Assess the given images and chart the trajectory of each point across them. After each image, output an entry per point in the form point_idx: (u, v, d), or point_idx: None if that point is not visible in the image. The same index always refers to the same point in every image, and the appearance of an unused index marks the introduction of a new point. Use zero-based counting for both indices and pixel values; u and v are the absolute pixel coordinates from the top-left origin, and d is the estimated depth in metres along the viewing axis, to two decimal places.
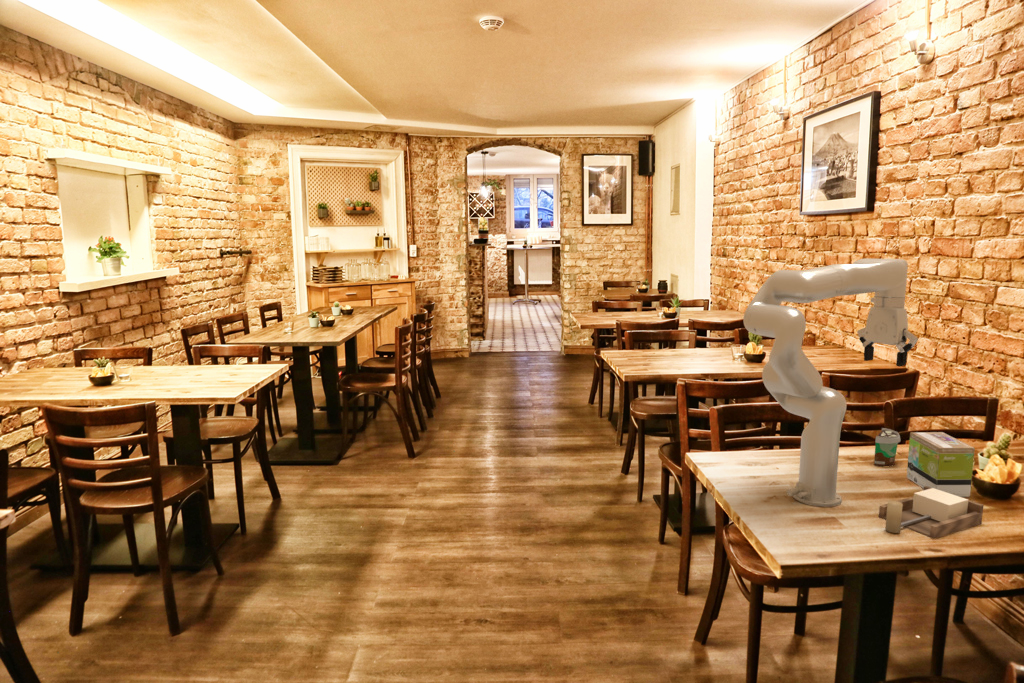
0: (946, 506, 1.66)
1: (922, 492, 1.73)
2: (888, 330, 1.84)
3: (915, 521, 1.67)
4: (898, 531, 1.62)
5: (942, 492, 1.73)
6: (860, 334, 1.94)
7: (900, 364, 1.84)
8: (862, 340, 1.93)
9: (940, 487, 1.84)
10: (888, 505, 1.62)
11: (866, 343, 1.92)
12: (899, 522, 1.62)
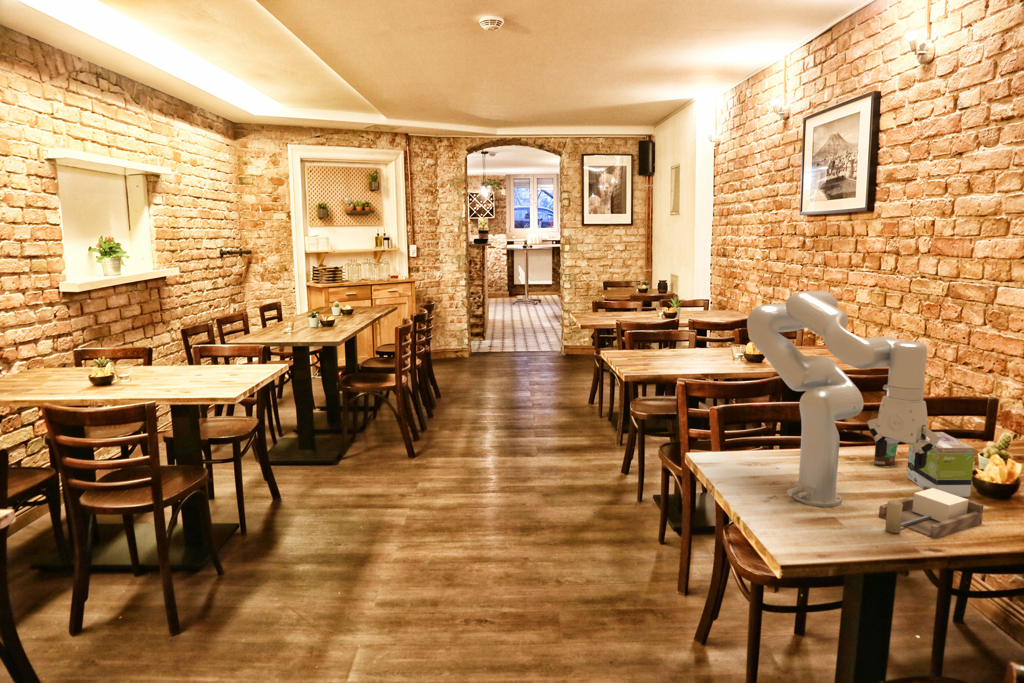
0: (946, 506, 1.66)
1: (922, 492, 1.73)
2: (904, 426, 1.56)
3: (915, 521, 1.67)
4: (898, 531, 1.62)
5: (942, 492, 1.73)
6: (871, 426, 1.66)
7: (918, 466, 1.56)
8: (873, 433, 1.65)
9: (940, 487, 1.84)
10: (888, 505, 1.62)
11: (878, 437, 1.64)
12: (899, 522, 1.62)
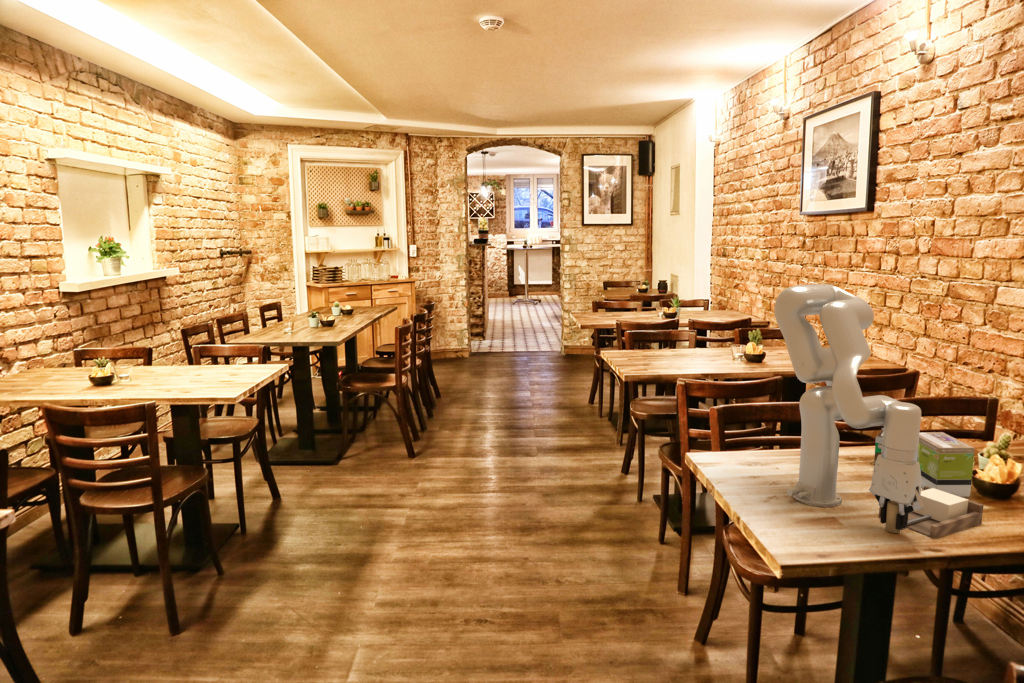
0: (946, 506, 1.66)
1: (922, 492, 1.73)
2: (898, 487, 1.58)
3: (915, 521, 1.67)
4: (898, 531, 1.62)
5: (942, 492, 1.73)
6: (874, 492, 1.67)
7: (900, 527, 1.61)
8: (878, 498, 1.65)
9: (940, 487, 1.84)
10: (888, 505, 1.62)
11: (882, 502, 1.64)
12: None
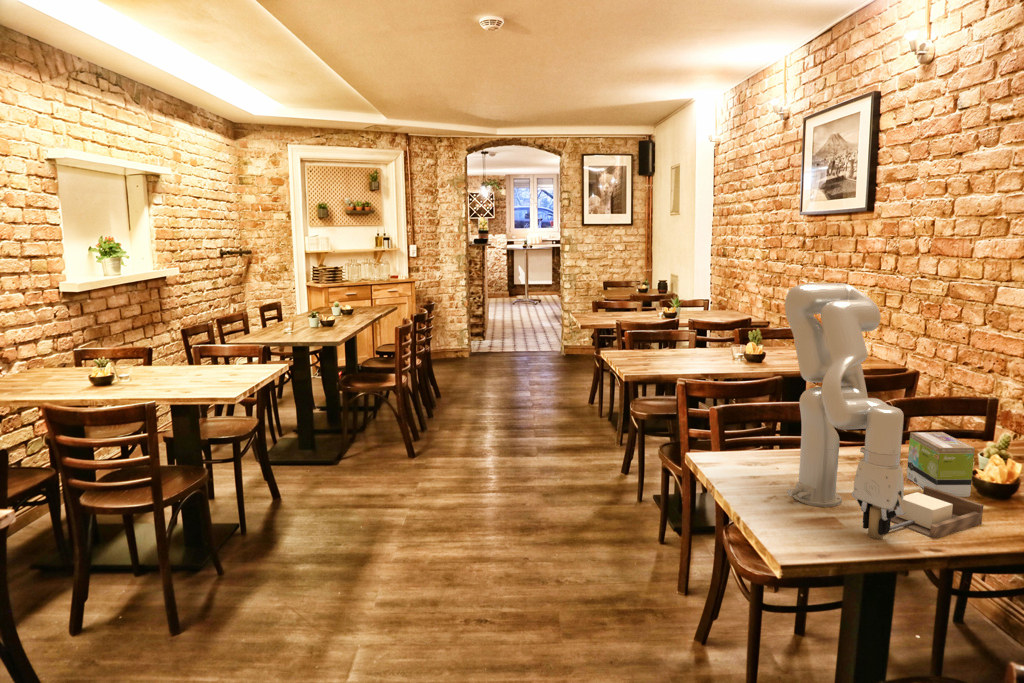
0: (930, 511, 1.63)
1: (906, 496, 1.70)
2: (880, 492, 1.55)
3: (898, 526, 1.64)
4: (880, 536, 1.59)
5: (926, 496, 1.70)
6: None
7: (882, 532, 1.58)
8: (861, 503, 1.62)
9: (940, 487, 1.84)
10: (870, 510, 1.60)
11: (864, 507, 1.61)
12: None
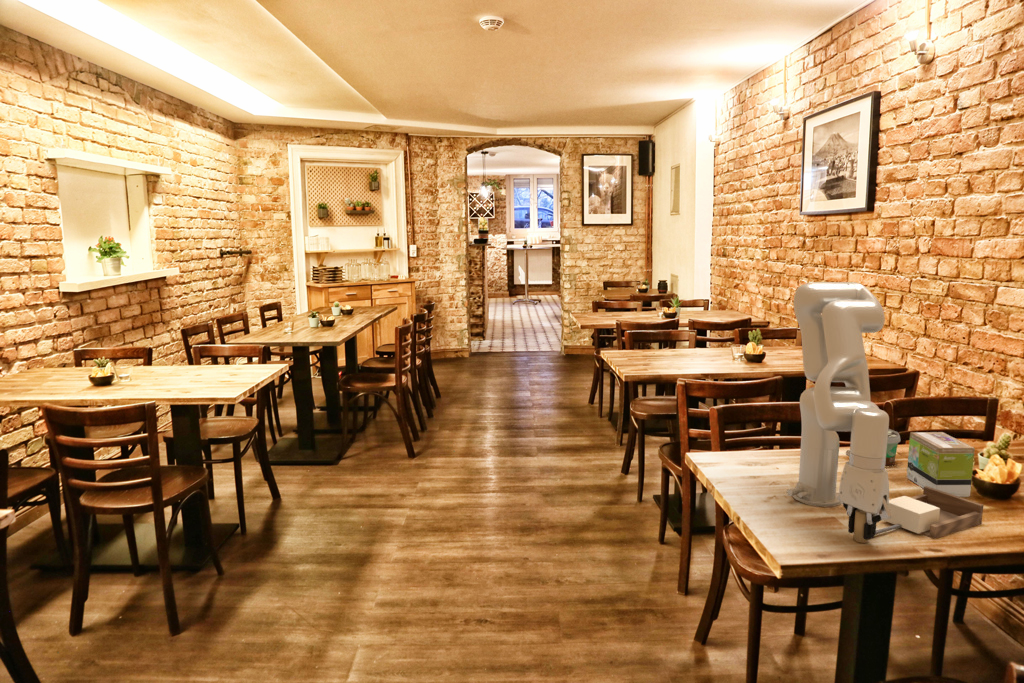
0: (916, 515, 1.60)
1: (893, 500, 1.68)
2: (865, 495, 1.53)
3: (884, 530, 1.61)
4: (866, 541, 1.57)
5: (914, 500, 1.68)
6: (842, 500, 1.61)
7: (868, 537, 1.56)
8: (846, 507, 1.60)
9: (940, 487, 1.84)
10: (856, 514, 1.57)
11: (849, 511, 1.59)
12: None
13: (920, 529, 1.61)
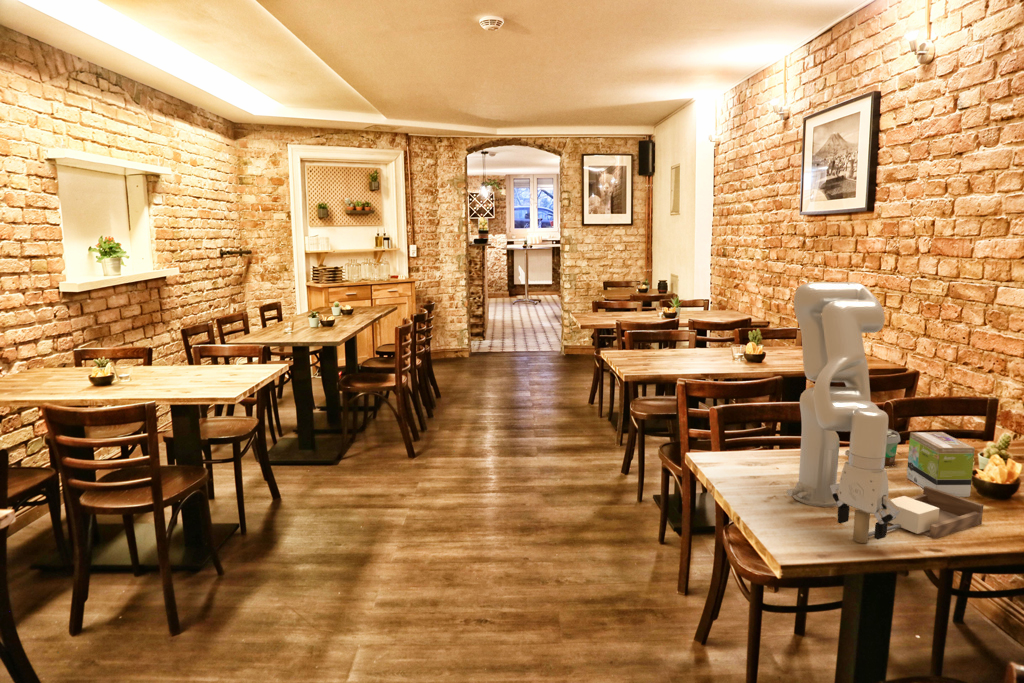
0: (916, 515, 1.60)
1: (892, 500, 1.68)
2: (865, 495, 1.53)
3: None
4: (865, 541, 1.57)
5: (913, 500, 1.68)
6: (833, 490, 1.63)
7: (879, 537, 1.53)
8: (835, 498, 1.62)
9: (940, 487, 1.84)
10: (855, 514, 1.57)
11: (840, 503, 1.61)
12: (866, 532, 1.56)
13: (919, 529, 1.61)
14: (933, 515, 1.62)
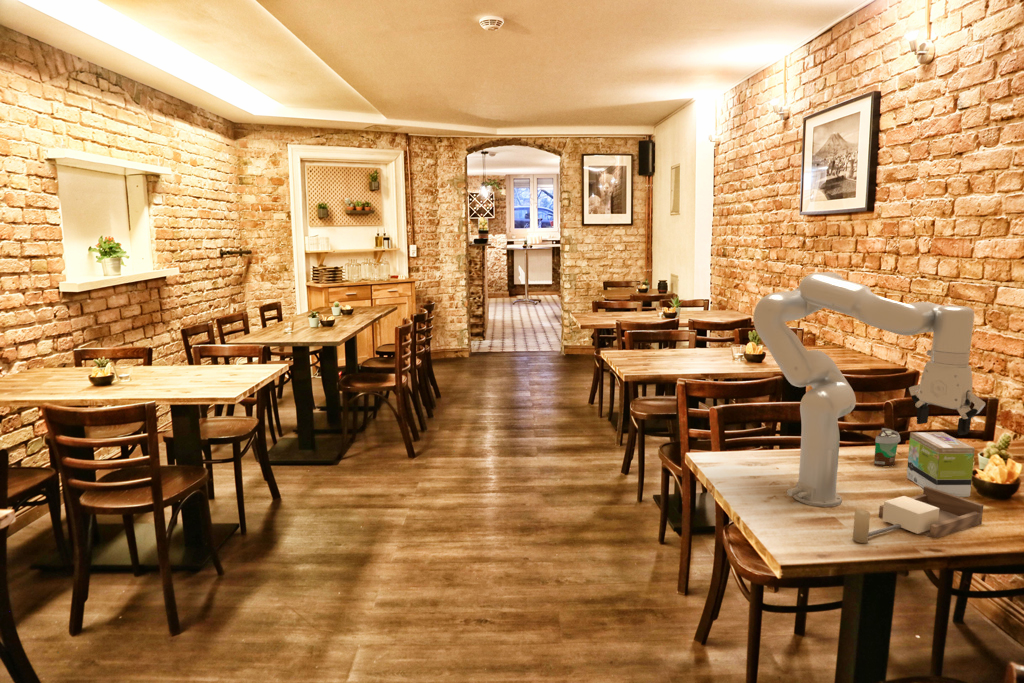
0: (916, 515, 1.60)
1: (892, 500, 1.68)
2: (948, 391, 1.54)
3: (884, 530, 1.61)
4: (865, 541, 1.57)
5: (913, 500, 1.68)
6: (912, 392, 1.64)
7: (962, 432, 1.53)
8: (915, 399, 1.63)
9: (940, 487, 1.84)
10: (855, 514, 1.57)
11: (920, 403, 1.61)
12: (866, 532, 1.56)
13: (919, 529, 1.61)
14: (933, 515, 1.62)
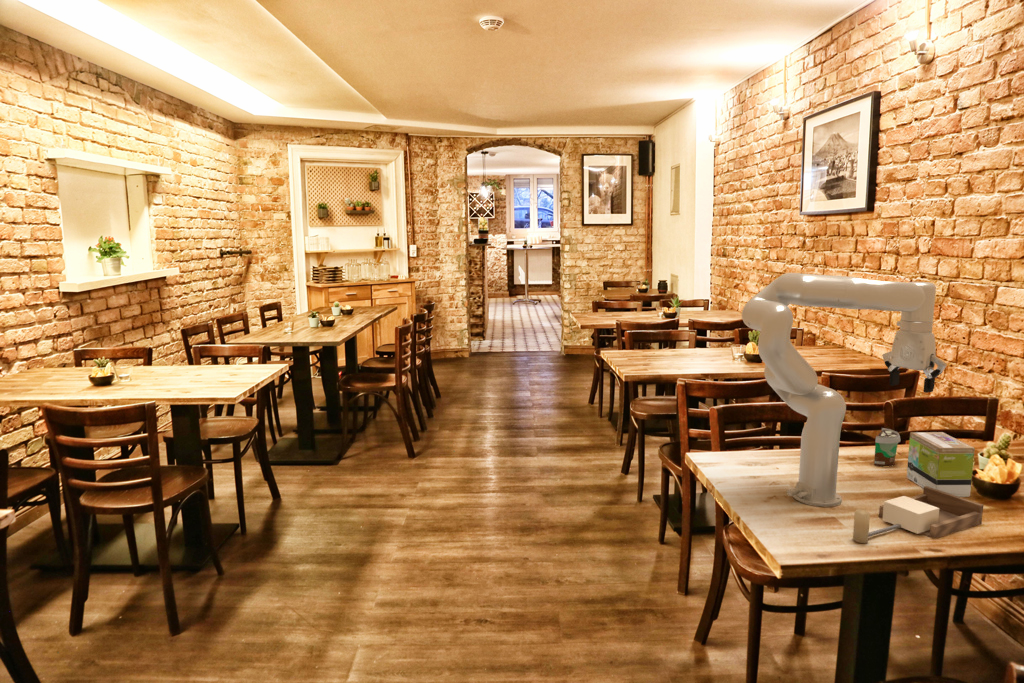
0: (916, 515, 1.60)
1: (892, 500, 1.68)
2: (915, 355, 1.79)
3: (884, 530, 1.61)
4: (865, 541, 1.57)
5: (913, 500, 1.68)
6: (885, 358, 1.89)
7: (927, 390, 1.79)
8: (887, 364, 1.88)
9: (940, 487, 1.84)
10: (855, 514, 1.57)
11: (892, 367, 1.87)
12: (866, 532, 1.56)
13: (919, 529, 1.61)
14: (933, 515, 1.62)
